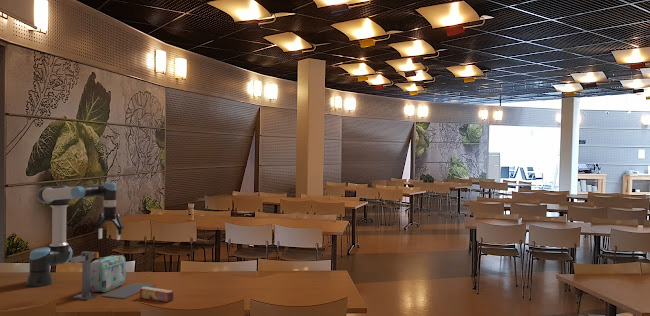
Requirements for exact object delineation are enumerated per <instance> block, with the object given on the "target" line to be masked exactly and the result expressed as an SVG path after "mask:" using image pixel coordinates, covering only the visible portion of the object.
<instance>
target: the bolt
mask: <svg viewBox="0 0 650 316" xmlns="http://www.w3.org/2000/svg"><path fill="white" fill-rule="evenodd" d="M91 252H92V260H93V259H99V258H100V256H99V255H100V254H99V253H100V252H98V251H91ZM86 260H87V254H84V255H81V254H80V255H77V256H72V258H71V259H70V264H78V263H81V262H82V263H83V261H86Z"/></svg>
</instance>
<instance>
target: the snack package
mask: <svg viewBox="0 0 650 316" xmlns="http://www.w3.org/2000/svg"><path fill="white" fill-rule="evenodd" d="M138 294H139V295H138V296H139V299H144V300H145V299H146V300H152V301H159V302H165V303H170V302H171V300H172V301H173V299H174V291H173V290H170V289H169V290H168V289H164V288H163V289H162V288H156V287H151V288H150V287H142V288H141V289H140V291H139V293H138ZM169 301H170V302H169Z"/></svg>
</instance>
